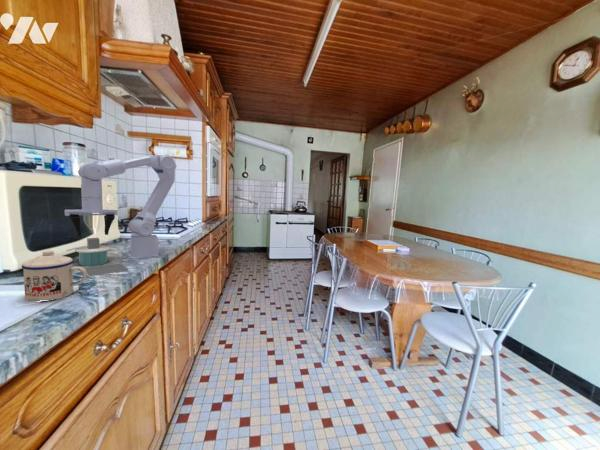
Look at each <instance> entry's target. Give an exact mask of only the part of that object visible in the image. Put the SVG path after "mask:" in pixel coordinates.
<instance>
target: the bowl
mask: <svg viewBox="0 0 600 450" xmlns="http://www.w3.org/2000/svg"><path fill="white" fill-rule="evenodd" d="M78 258H79V259H78V260H79V265H80V266H81V267H82V266H84V267H95V266H102V265H105V264H106V263H107V262H108V251H103V252H95V253H79V252H78Z"/></svg>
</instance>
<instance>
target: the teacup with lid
mask: <svg viewBox="0 0 600 450" xmlns="http://www.w3.org/2000/svg"><path fill="white" fill-rule="evenodd" d="M73 263H74V260H73V258H72V257H70V256H64V255H61V254H58V253H57V254H56V253H55V252H54V250H52V249H51V250H44V251H42V254H41V255H38V256H36V257H35V258H32V259H29V260H26V261H25V262H23V263H22V265H21V268H22V269H23V271H22V272H23V284H24V285H23V286H24V287H23V289H24V300H25V301H26V302H31V301H40V300H52V299H56V300H55V301H57V300H61V299H63V298H68V297H67V296H70V295H71V294H72V293H73V292H74V287H75V286H79V285H81V284H82V283H83V282H84V281H86V279H87V276H88V273H87V271H86V270H85V267H82V266H73ZM73 270H74V271H80V272H81V274H82V278H81V279H80V281H76V282H74V276H73Z"/></svg>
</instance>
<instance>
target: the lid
mask: <svg viewBox="0 0 600 450" xmlns="http://www.w3.org/2000/svg"><path fill="white" fill-rule="evenodd" d="M86 242H87V243H86V245H85V246H78V247H75V248H74V252H76V253H78V254H79V253H95V252H103V251H107V252H108V251H110V250H111V249H112V248H111V247H112V246H111V245H105V244H104V245H103V244H100V238H99V237H88V238H87V239H86Z"/></svg>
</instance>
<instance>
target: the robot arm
mask: <svg viewBox="0 0 600 450" xmlns="http://www.w3.org/2000/svg"><path fill="white" fill-rule="evenodd" d="M175 161H176V160H175V159H174V158H173V157H172V156H171V155H168V154H163V155H145V156H144V155H143V156H140V157H135V158H131V159H126V160H122V159H120V158H115V157H108V159H106V160H101V161H98V160H94V161H93V162H91V163H90V162H89V163H84V164H82V165H81V166H80V167H79V168H78V170H77V173H78V175H79V177H80V180H81V185H80V188H81V191H80V193H81V195H80V196H81V208H80V209H64V216H66V217H69V219H70V221H71V222H72V224H73V226H74V228H75V231H76V235H77V237H82V231H81V217H80V216H103V218H104V219H103V220H104V221H103V222H104V235H105V236H108V235H109V231H110V228H111V226H112V224H113V222H114V220H115V219H116V218H115V217H116V216H118V215H119V213H118V211H119V210H118V209H103V204H104V203H103V180H102V179H103V178H109V177H114V176H117V175H123V174H124V173H125V172H126V170H128V169H134V168H139V167H144V166H146V167H149V168H152V170H153V171H154V172H155V173H156V174H157V176H158V179H159V180H158V182H157V183H156V185H155V187H154V188H153V191H152V192H151V194H150V195H149V198H148V199H147V201H146V203H145V205H144V207H142V210H141V211H140V212H139V213H137V214H135V217H134V218H133V219H131V220H129V222H128V225H127V227H128V229H129V231H130V232H131V233H130V253H128V254H127V256H129V257H130V258H131V259H133V260H134V259H135V260H137V259H144V258H145V257H146V258H153V257H152V256H154V257H159V256H160V255H159V238H158V235H156V234H153V232H154V231H155V225H156V222H157V218H156V216H157V214H158V212H159V210H160V208H161V206H162V205H163V203H164V201H165V199H166V197H167V196H168V194H169V192H170V190H171V188H172V186H173V185H174V183H175V179H176V177H175V176H176V168H177V164H176V162H175ZM146 258H145V259H146Z"/></svg>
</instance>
